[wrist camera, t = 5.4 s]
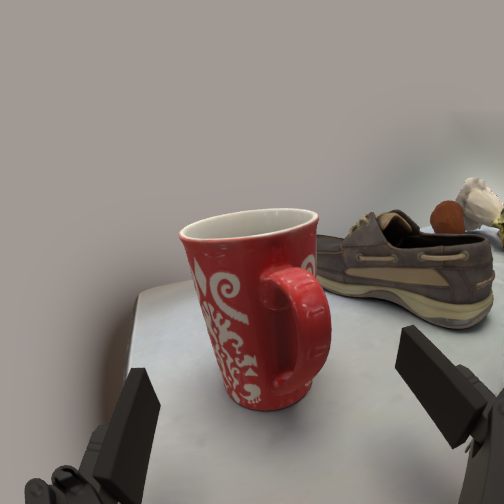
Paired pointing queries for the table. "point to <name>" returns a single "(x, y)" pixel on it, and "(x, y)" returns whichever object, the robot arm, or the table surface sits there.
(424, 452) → the table surface
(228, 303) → the mug
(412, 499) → the table surface
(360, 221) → the boat shoe
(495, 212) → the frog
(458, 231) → the potato
